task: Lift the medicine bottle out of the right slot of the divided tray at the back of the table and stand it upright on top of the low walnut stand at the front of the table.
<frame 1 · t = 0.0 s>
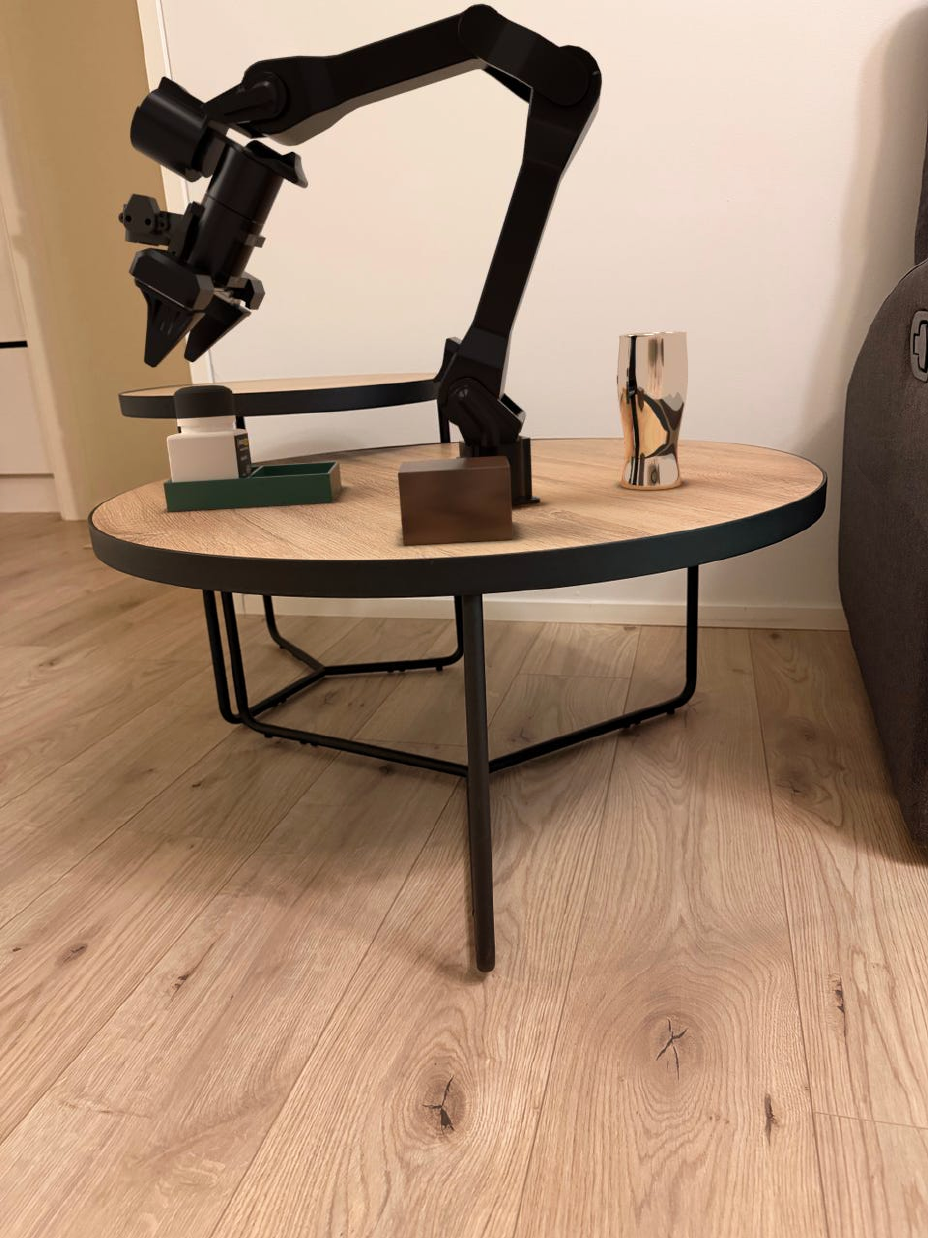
hand: (169, 362, 89), 15 cm above the table, tool tilted 35°, fingers open, 9 cm apart
walnut stand: (453, 463, 76), on the table
beer glass: (650, 486, 95), on the table
medicine bottle: (216, 501, 99), resting in divided tray
divided tray: (258, 499, 100), on the table
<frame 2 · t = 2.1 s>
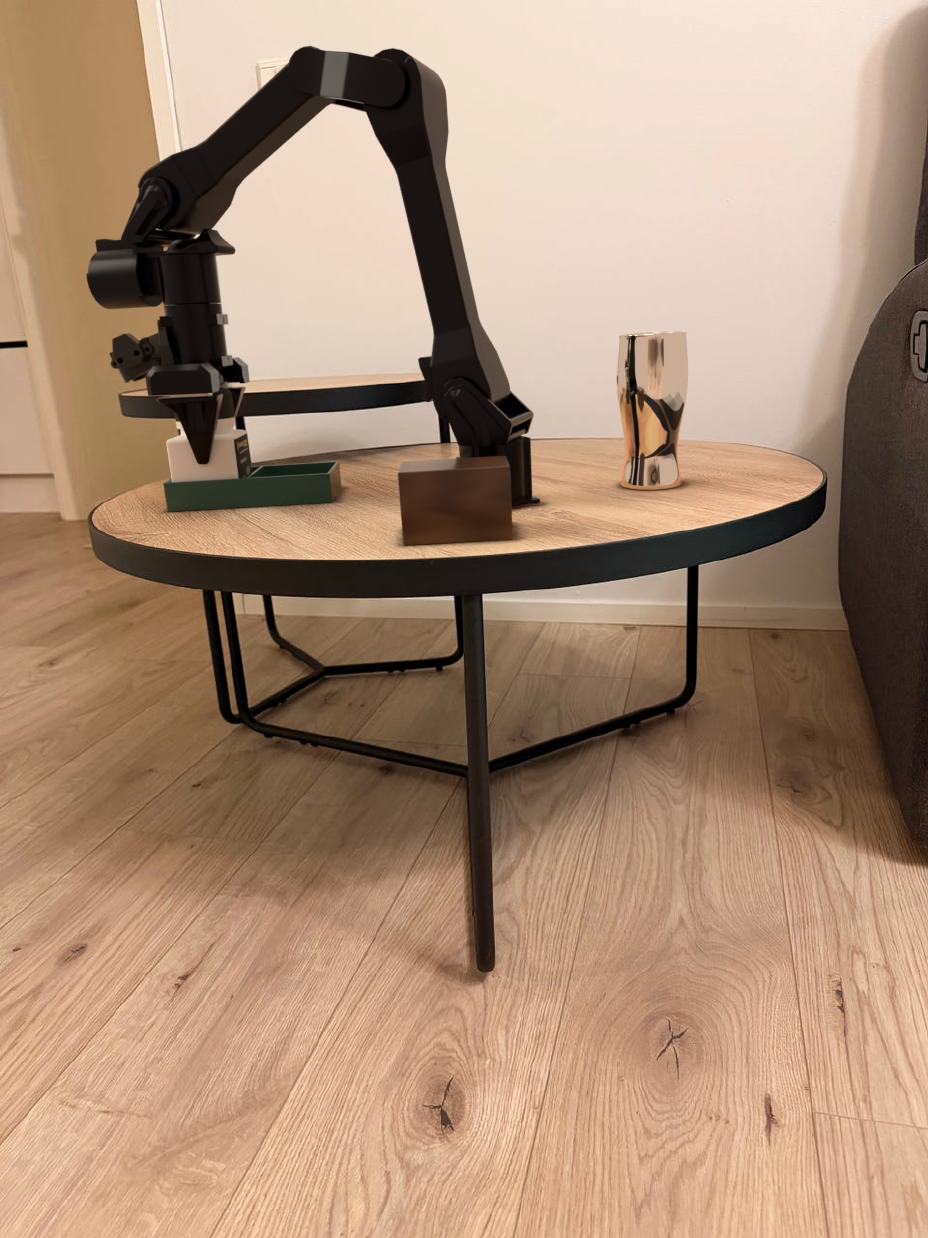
hand: (212, 458, 98), 5 cm above the table, tool pointing down, fingers closed on medicine bottle, 7 cm apart
medicine bottle: (216, 503, 100), resting in divided tray, touching gripper
everything else where it was.
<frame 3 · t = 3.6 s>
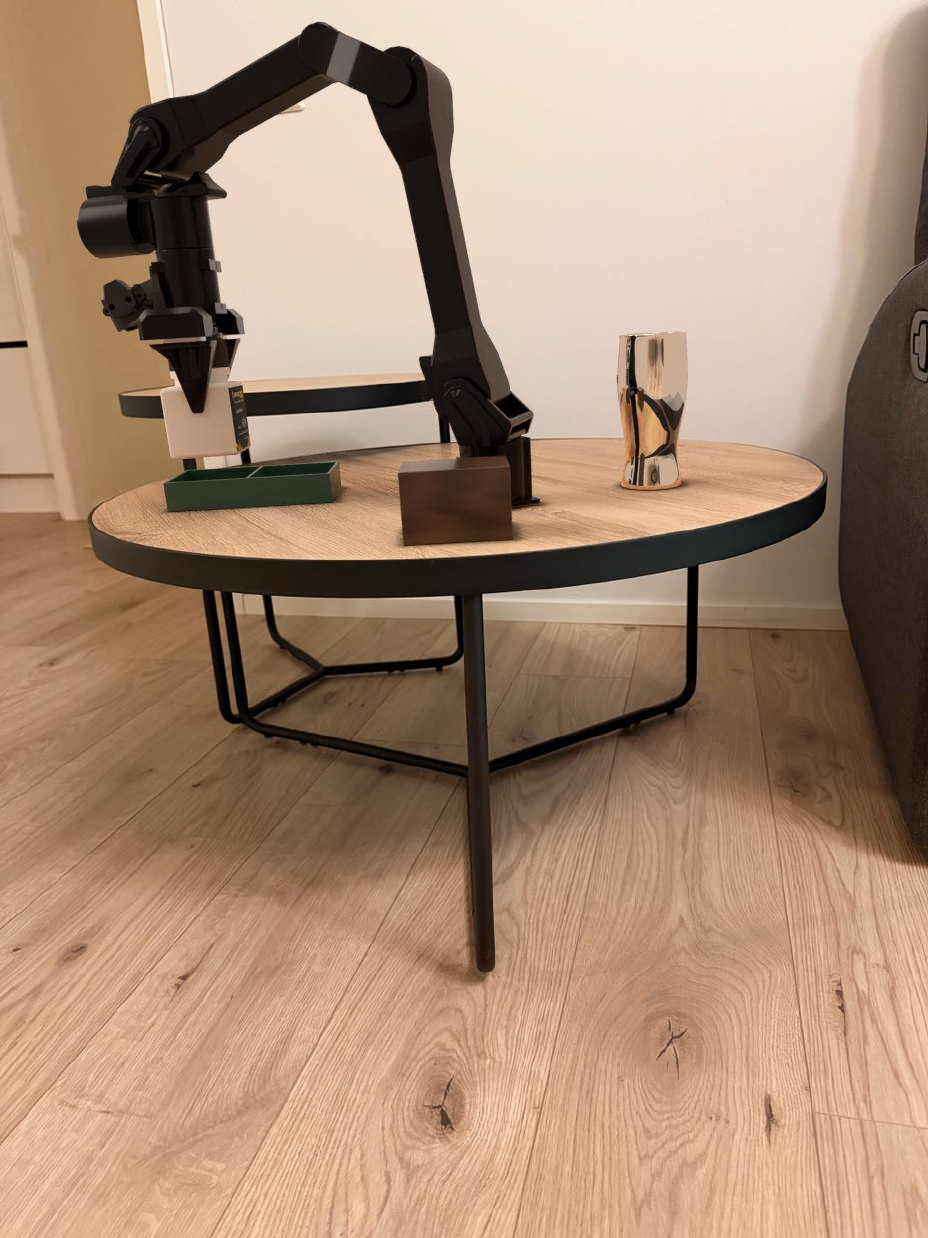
hand: (207, 409, 97), 10 cm above the table, tool pointing down, fingers closed on medicine bottle, 7 cm apart
medicine bottle: (212, 455, 98), point 5 cm above the table, touching gripper
everything else where it was.
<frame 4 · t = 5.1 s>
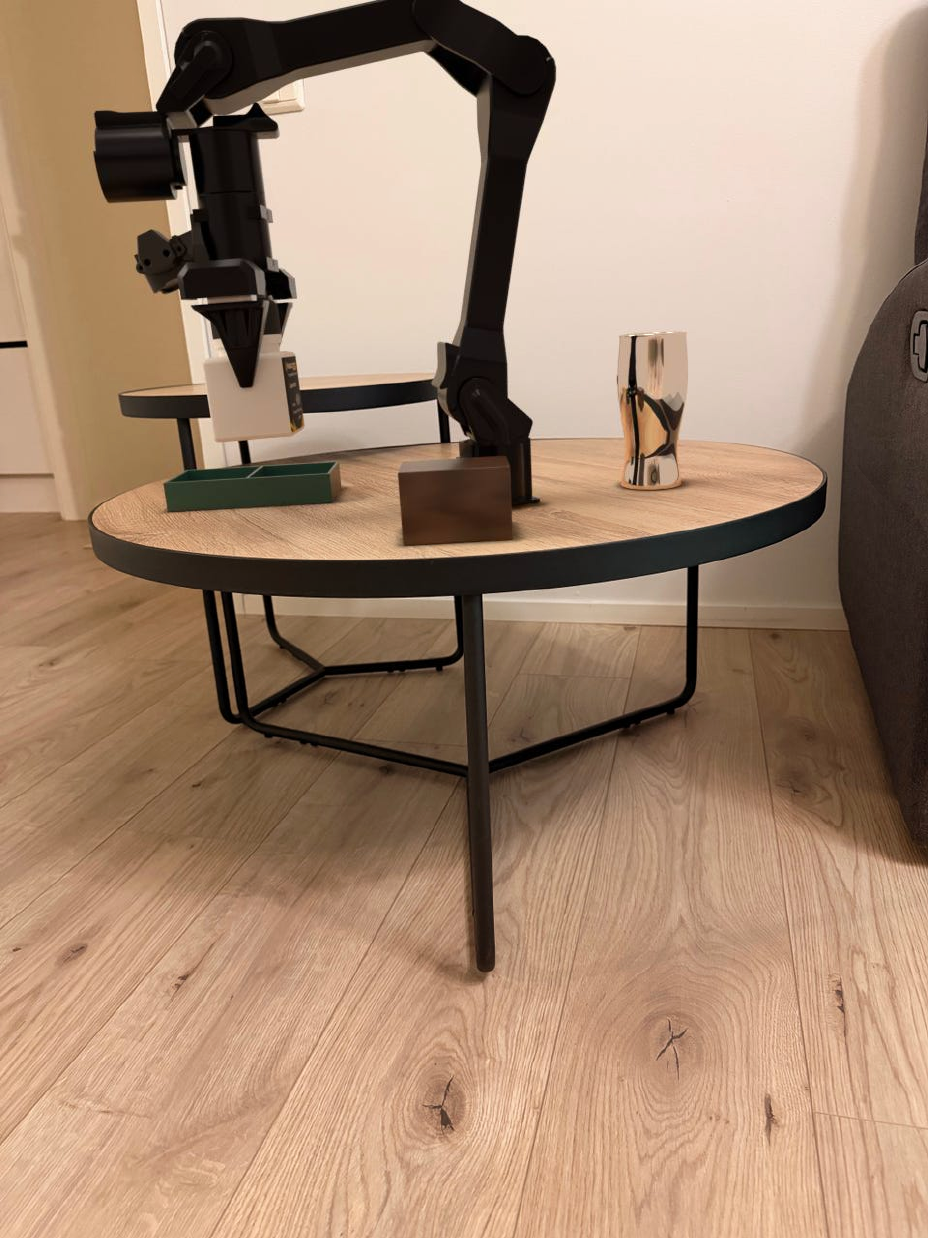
hand: (256, 384, 83), 13 cm above the table, tool pointing down, fingers closed on medicine bottle, 7 cm apart
medicine bottle: (261, 437, 85), point 8 cm above the table, touching gripper
everything else where it was.
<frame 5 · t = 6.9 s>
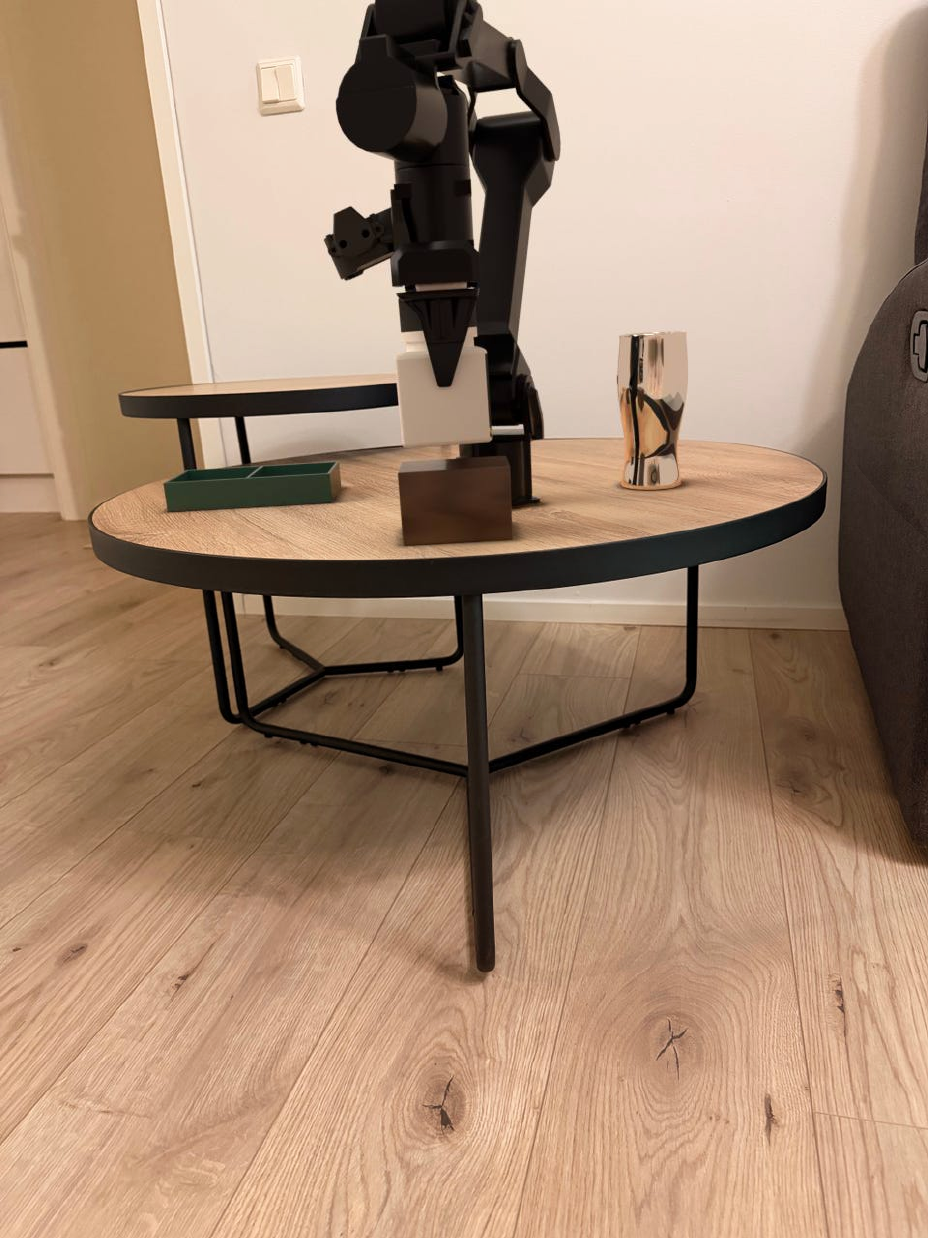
hand: (445, 383, 74), 13 cm above the table, tool pointing down, fingers closed on medicine bottle, 7 cm apart
medicine bottle: (447, 442, 76), point 8 cm above the table, touching gripper
everything else where it was.
when the fingers open (11 cm above the table, at t = 8.0 s): medicine bottle stays where it is, resting on walnut stand.
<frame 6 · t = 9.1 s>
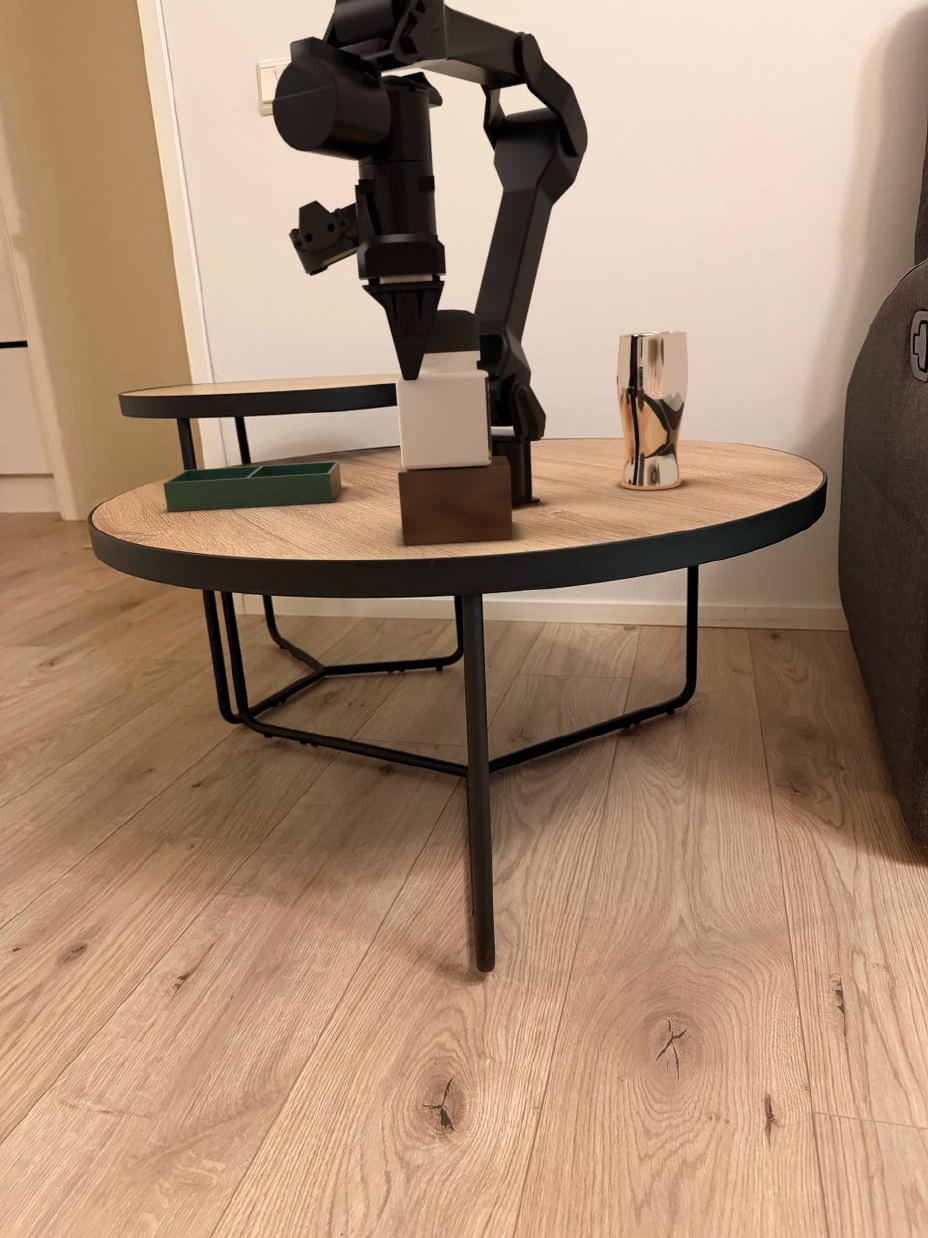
hand: (410, 377, 75), 13 cm above the table, tool pointing down, fingers open, 9 cm apart
medicine bottle: (449, 464, 76), point 6 cm above the table, touching gripper, walnut stand
everything else where it was.
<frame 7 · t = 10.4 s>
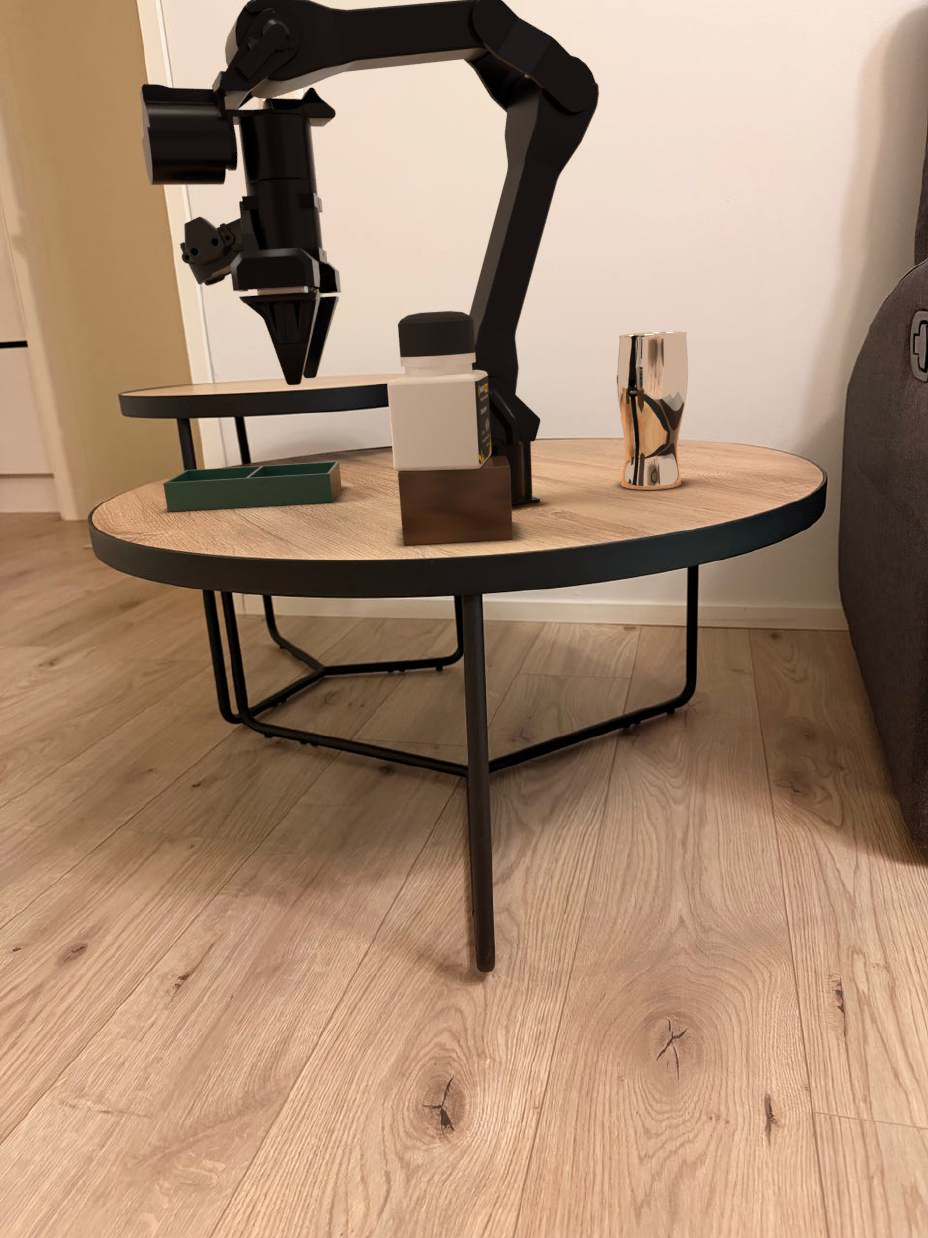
hand: (302, 381, 80), 13 cm above the table, tool pointing down, fingers open, 9 cm apart
medicine bottle: (444, 466, 76), point 6 cm above the table, touching walnut stand
everything else where it was.
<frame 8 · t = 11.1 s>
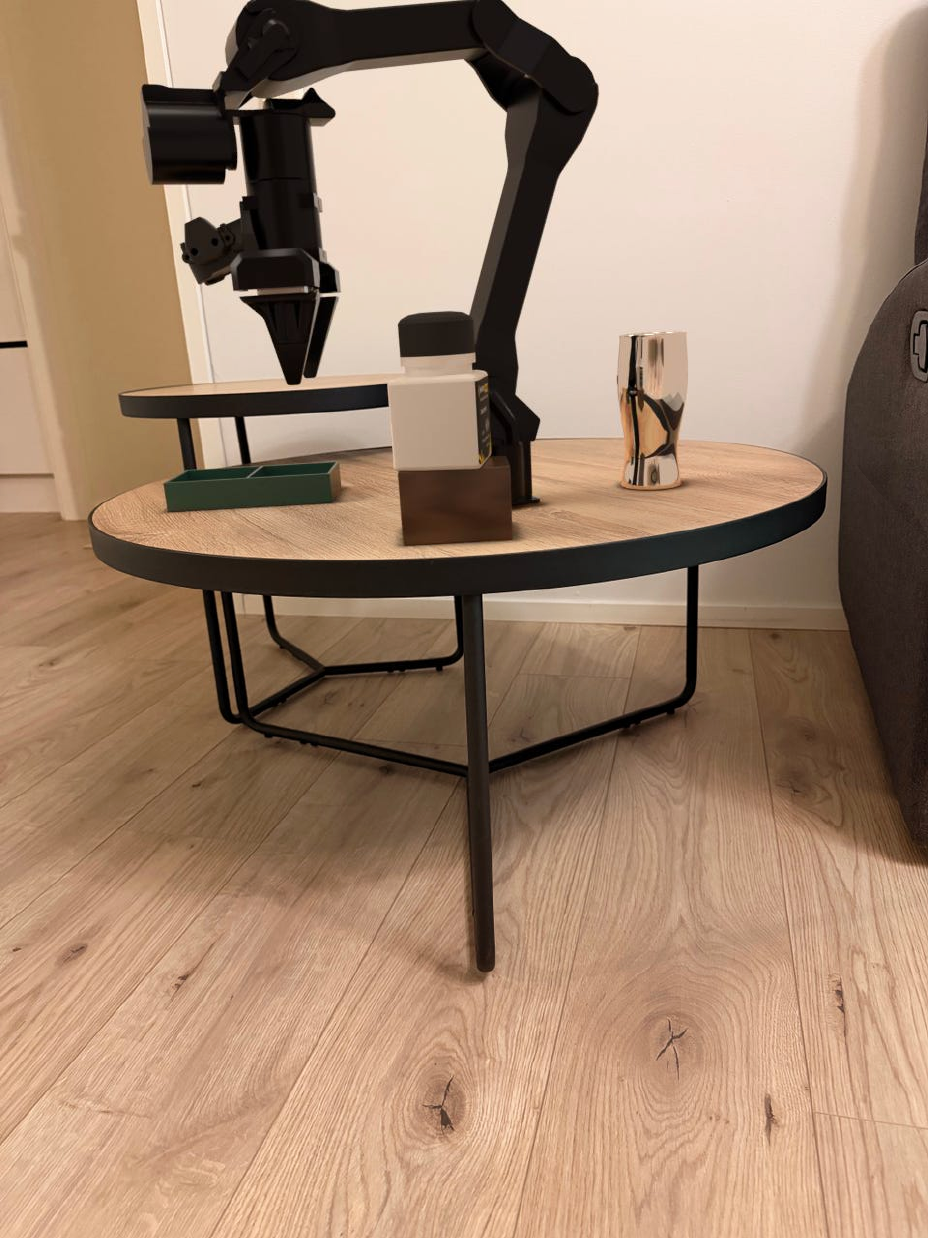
hand: (302, 381, 80), 13 cm above the table, tool pointing down, fingers open, 9 cm apart
nothing on the table moved.
at the end: medicine bottle inside the target area on the walnut stand (0.8 cm from its centre), point 0.0 cm above the walnut stand's base; medicine bottle tilted 0°; the gripper is holding nothing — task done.
